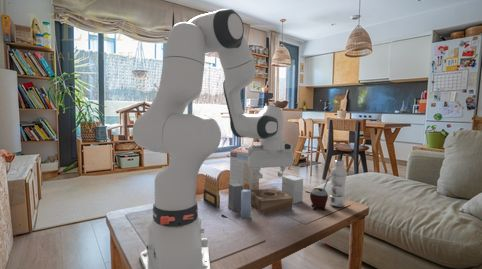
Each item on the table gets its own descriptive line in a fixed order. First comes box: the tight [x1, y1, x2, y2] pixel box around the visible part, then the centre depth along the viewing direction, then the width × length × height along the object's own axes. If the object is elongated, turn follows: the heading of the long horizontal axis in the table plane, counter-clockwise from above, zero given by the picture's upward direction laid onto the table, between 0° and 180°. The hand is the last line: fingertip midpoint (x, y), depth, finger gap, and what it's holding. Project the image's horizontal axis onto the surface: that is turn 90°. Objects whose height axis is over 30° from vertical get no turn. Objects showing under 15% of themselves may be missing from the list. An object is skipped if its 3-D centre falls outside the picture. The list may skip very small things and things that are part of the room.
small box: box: [281, 174, 304, 204], centre depth 119 cm, size 8×6×10 cm
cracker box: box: [229, 148, 260, 190], centre depth 125 cm, size 14×6×21 cm, turn 49°
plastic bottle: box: [328, 159, 348, 208], centre depth 113 cm, size 6×7×20 cm
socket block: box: [251, 187, 293, 214], centre depth 112 cm, size 14×14×5 cm
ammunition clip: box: [202, 173, 221, 209], centre depth 112 cm, size 11×2×12 cm, turn 38°
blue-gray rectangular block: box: [240, 190, 252, 220], centre depth 99 cm, size 4×4×10 cm
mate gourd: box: [309, 174, 334, 211], centre depth 110 cm, size 8×8×15 cm
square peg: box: [227, 183, 243, 212], centre depth 108 cm, size 4×4×10 cm
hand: (270, 177), depth 111 cm, fingers open, 8 cm apart
